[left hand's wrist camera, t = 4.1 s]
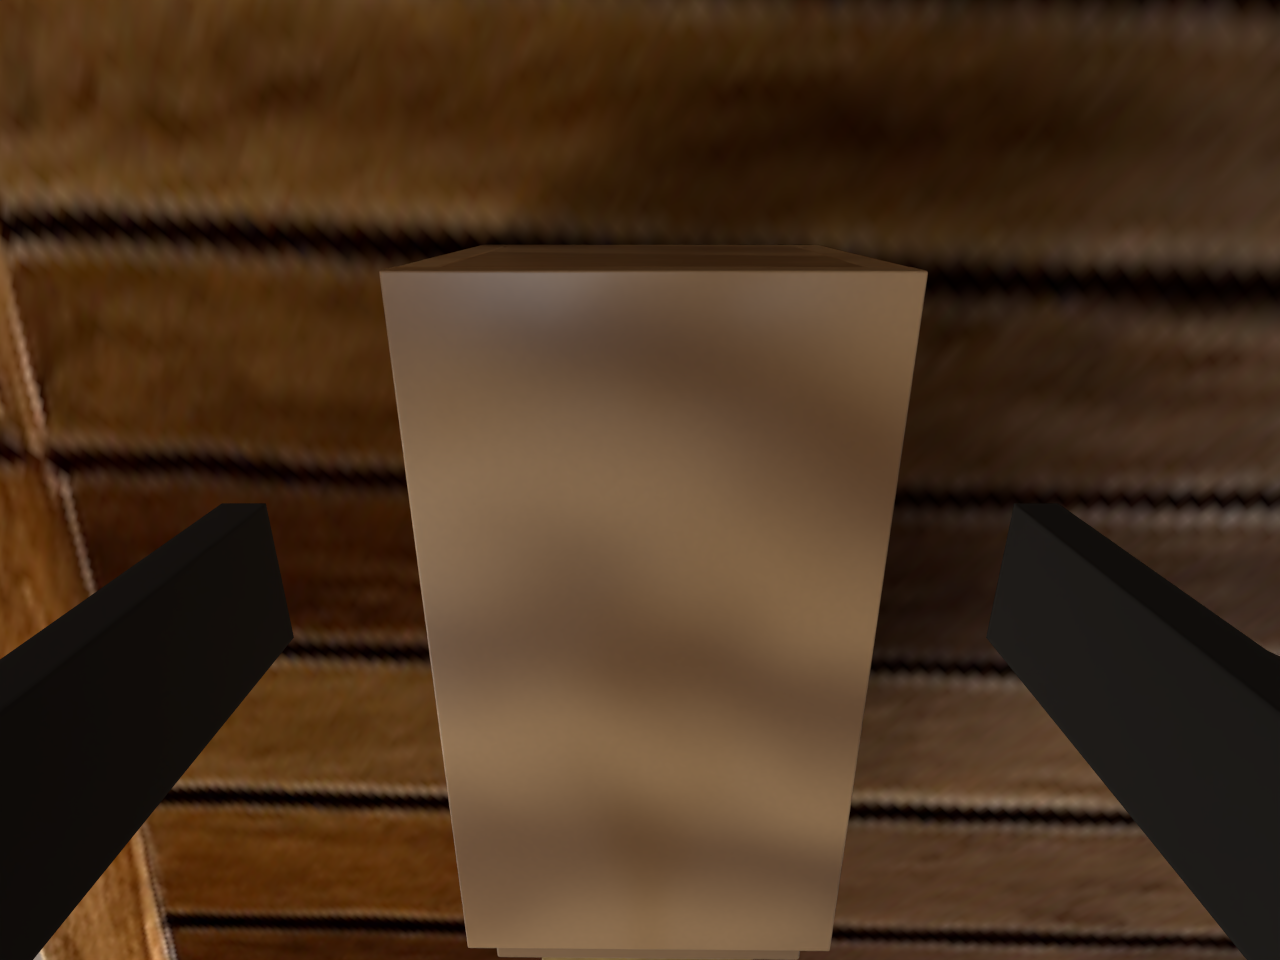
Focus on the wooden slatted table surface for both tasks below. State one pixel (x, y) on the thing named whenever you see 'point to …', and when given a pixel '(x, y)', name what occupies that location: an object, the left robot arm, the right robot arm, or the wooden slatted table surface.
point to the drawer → (645, 954)
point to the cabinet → (651, 575)
